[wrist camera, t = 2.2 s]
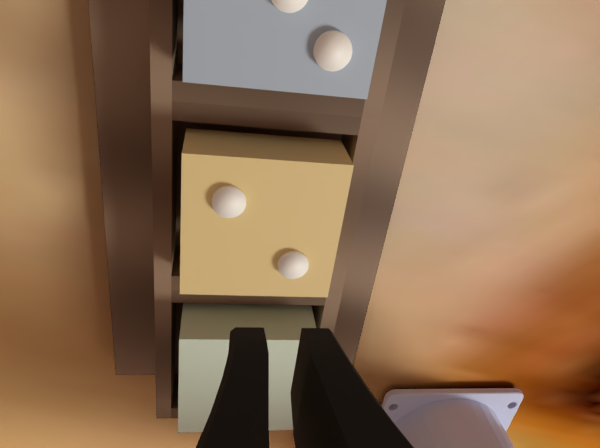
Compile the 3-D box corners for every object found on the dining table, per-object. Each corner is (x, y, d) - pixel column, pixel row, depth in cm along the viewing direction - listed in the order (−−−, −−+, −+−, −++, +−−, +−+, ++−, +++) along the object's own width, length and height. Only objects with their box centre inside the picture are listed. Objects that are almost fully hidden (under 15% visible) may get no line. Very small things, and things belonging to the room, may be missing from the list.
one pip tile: (295, 391, 23) (301, 433, 21) (181, 392, 22) (177, 436, 20) (311, 305, 20) (320, 344, 18) (182, 302, 19) (178, 343, 17)
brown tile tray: (345, 365, 26) (358, 414, 23) (120, 366, 24) (107, 419, 21) (464, -130, 15) (513, -140, 13) (82, -200, 13) (48, -228, 11)
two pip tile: (318, 263, 19) (328, 301, 17) (183, 259, 18) (179, 297, 16) (340, 140, 17) (355, 168, 15) (186, 128, 16) (181, 156, 14)
